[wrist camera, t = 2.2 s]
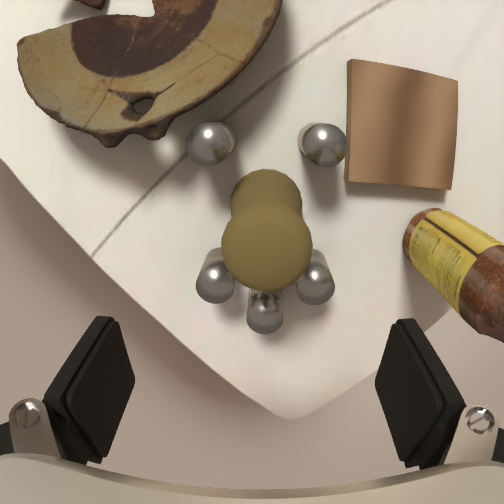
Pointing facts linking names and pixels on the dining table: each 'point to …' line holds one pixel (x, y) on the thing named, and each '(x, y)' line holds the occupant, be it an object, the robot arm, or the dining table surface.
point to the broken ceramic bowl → (142, 63)
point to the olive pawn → (266, 232)
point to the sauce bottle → (460, 267)
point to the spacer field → (214, 270)
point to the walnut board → (400, 126)
